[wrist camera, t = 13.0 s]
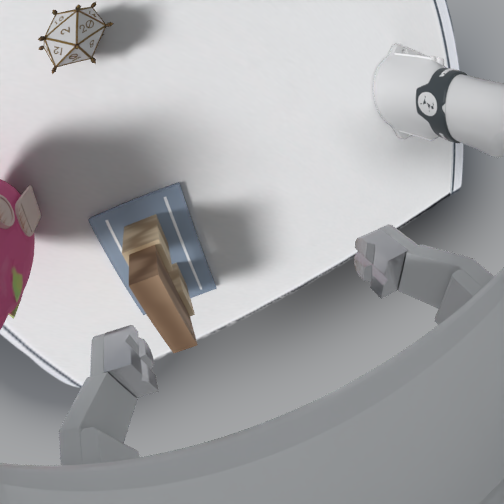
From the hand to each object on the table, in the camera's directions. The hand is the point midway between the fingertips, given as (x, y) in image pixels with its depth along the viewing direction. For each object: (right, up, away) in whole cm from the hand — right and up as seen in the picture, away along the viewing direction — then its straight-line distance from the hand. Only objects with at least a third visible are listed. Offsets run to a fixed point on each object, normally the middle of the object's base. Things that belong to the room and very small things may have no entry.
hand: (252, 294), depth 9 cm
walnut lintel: (-12, -3, +27) cm, 30 cm away
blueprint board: (-15, +1, +33) cm, 36 cm away
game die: (-21, +27, +13) cm, 37 cm away
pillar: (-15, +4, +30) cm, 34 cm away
